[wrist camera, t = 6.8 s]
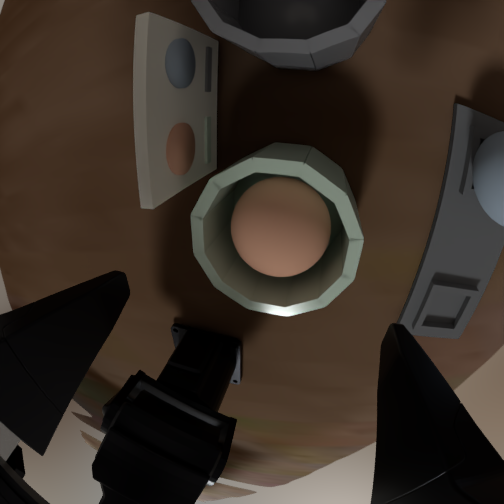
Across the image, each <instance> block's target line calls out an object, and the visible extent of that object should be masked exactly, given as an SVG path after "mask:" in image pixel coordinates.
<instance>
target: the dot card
mask: <svg viewBox="0 0 504 504" xmlns="http://www.w3.org/2000/svg"><path fill="white" fill-rule="evenodd" d="M218 45H219V41H217V40H215V39H213V38H211V37H209V36H207V35H205V34H203V33H201V32H198V31H196V30H194V29H192V28H189V27H187V26H185V25H182V24H180V23H178V22H175V21H173V20H170V19H168V18H165V17H162V16H160V15H157V14H154V13H151V12H147V13H143V14H140V15H137V16H136V24H135V38H134V61H133V111H134V135H135V151H136V164H137V175H138V185H139V195H140V203H141V208H145V209H154V208H156V207H157V206H159V205H160V204H162V203H163V202H165V201H166V200H168V199H169V198H171V197H172V196H174V195H175V194H177V193H179V192H180V191H182V190H183V189H185V188H186V187H188V186H190V185H191V184H193V183H194V182H196V181H198V180H199V179H201V178H202V177H204V176H206V175H207V174H209V173H211V172H212V171H214V170H216V169H217V78H218Z"/></svg>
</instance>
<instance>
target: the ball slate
mask: <svg viewBox="0 0 504 504" xmlns="http://www.w3.org/2000/svg"><path fill="white" fill-rule="evenodd" d="M472 177H473V185H474V190H475V193H476V196H477V198H478V201H479V203H480V204H481V206H482V208H483V209H484V211H485V212H486V213H487V214H488V215H489V217H490V218H492V219H493V220H494V221H495V222H497V223H498V224H500V225H502V226H504V131H501V132H497V133H494V134H492V135H491V136H489V137H488V138H487V139H485V140H484V142H483V143H482V144H481V145H480V147H479V148H478V150H477V152H476V155H475V158H474V162H473V169H472Z"/></svg>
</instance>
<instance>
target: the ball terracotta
mask: <svg viewBox="0 0 504 504" xmlns="http://www.w3.org/2000/svg"><path fill="white" fill-rule="evenodd" d="M330 234H331V220H330V215H329V211H328V209H327V206H326V204H325V202H324V201H323V199H322V198H321V196H320V195H319V194H318V193H317V192H316V191H315V190H314V189H313V188H312V187H311V186H309V185H307V184H306V183H304V182H302V181H300V180H297V179H294V178H289V177H272V178H268V179H264V180H262V181H259V182H257V183H256V184H254V185H253V186H251V187H250V188H249V189H247V190H246V191H245V192H244V193H243V195H242V196H241V197H240V199H239V200H238V202H237V204H236V205H235V208H234V211H233V214H232V219H231V235H232V240H233V242H234V245H235V248H236V250H237V252H238V253H239V255H240V256H241V258H242V259H243V260H244V261H245V262H246V263H247V264H248V265H249V266H251V267H252V268H253V269H255V270H257V271H258V272H261V273H263V274H266V275H269V276H275V277H288V276H293V275H297V274H299V273H302V272H304V271H306V270H308V269H309V268H310V267H312V266H313V265H314V264H315V263H316V262H317V261H318V260H319V259H320V258H321V256H322V255H323V253H324V252H325V250H326V248H327V245H328V243H329V239H330Z"/></svg>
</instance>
